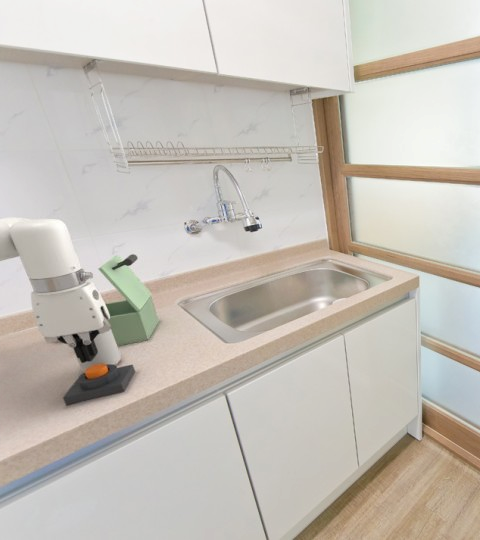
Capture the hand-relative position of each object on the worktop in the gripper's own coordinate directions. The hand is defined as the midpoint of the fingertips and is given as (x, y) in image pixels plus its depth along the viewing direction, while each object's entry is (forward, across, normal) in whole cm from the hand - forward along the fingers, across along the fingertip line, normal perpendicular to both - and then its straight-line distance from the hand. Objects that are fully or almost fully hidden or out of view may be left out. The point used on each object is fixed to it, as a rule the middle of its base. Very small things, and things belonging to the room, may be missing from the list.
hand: (89, 358), depth 72 cm
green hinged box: (+8, +2, -27) cm, 28 cm away
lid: (-8, -1, -27) cm, 28 cm away
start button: (+4, 0, 0) cm, 4 cm away
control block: (+8, 0, 0) cm, 8 cm away
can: (+8, +3, -10) cm, 13 cm away
